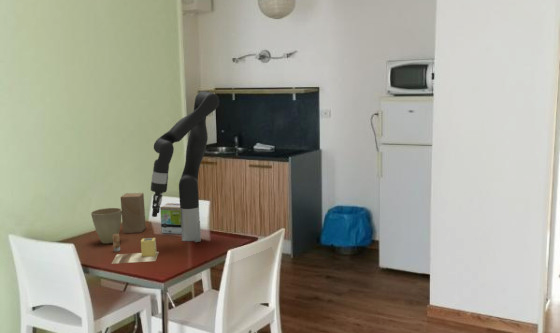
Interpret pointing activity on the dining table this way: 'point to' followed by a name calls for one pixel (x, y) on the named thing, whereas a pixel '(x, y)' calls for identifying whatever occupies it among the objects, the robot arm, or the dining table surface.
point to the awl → (116, 242)
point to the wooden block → (133, 212)
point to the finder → (148, 246)
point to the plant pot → (107, 223)
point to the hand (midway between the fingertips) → (155, 214)
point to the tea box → (171, 218)
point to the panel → (133, 258)
